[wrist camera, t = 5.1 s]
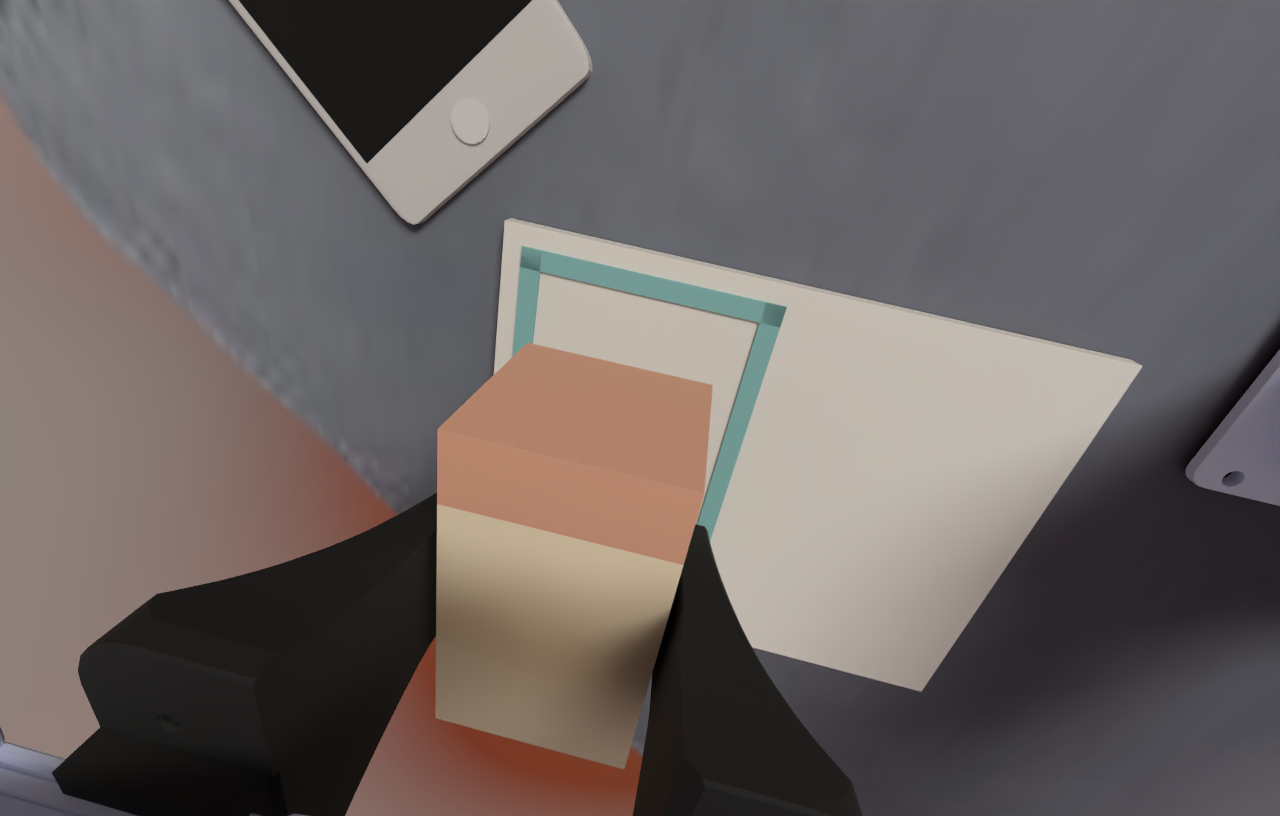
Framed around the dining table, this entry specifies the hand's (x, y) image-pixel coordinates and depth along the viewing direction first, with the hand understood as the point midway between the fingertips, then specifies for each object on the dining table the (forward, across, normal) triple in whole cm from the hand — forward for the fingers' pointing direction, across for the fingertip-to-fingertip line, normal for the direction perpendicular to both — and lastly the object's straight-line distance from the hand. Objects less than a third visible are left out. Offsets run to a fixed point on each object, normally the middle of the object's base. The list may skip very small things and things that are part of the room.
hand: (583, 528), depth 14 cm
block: (+1, 0, 0) cm, 1 cm away
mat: (+5, -4, +1) cm, 7 cm away
